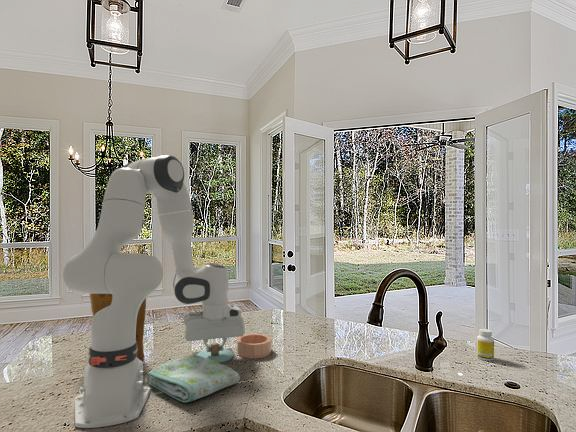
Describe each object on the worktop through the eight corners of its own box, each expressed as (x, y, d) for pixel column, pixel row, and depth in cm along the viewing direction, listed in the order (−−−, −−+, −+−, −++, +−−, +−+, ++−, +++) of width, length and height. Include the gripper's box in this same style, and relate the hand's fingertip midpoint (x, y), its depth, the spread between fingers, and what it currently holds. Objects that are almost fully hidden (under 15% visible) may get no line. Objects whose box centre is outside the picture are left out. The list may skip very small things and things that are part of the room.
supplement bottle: (496, 361, 132) (496, 333, 132) (479, 360, 133) (479, 332, 133) (491, 356, 138) (491, 328, 137) (474, 354, 139) (475, 327, 139)
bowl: (274, 357, 135) (274, 342, 135) (240, 360, 131) (240, 346, 131) (265, 345, 146) (265, 332, 146) (234, 349, 142) (234, 335, 142)
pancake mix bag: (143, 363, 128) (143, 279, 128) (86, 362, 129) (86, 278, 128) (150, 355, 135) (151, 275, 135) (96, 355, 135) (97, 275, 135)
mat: (239, 363, 129) (239, 362, 129) (195, 368, 124) (195, 367, 124) (231, 349, 142) (231, 348, 142) (192, 353, 138) (192, 352, 138)
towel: (195, 365, 126) (195, 349, 126) (241, 384, 113) (241, 367, 112) (144, 384, 112) (144, 366, 112) (189, 409, 99) (189, 389, 98)
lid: (236, 361, 129) (236, 348, 129) (198, 365, 125) (198, 352, 125) (229, 349, 141) (229, 337, 141) (194, 352, 137) (194, 340, 137)
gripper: (184, 315, 127) (184, 357, 127) (245, 310, 133) (245, 351, 133) (183, 310, 133) (183, 350, 133) (242, 306, 139) (241, 345, 139)
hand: (214, 350), depth 133 cm, fingers closed on lid, 3 cm apart
